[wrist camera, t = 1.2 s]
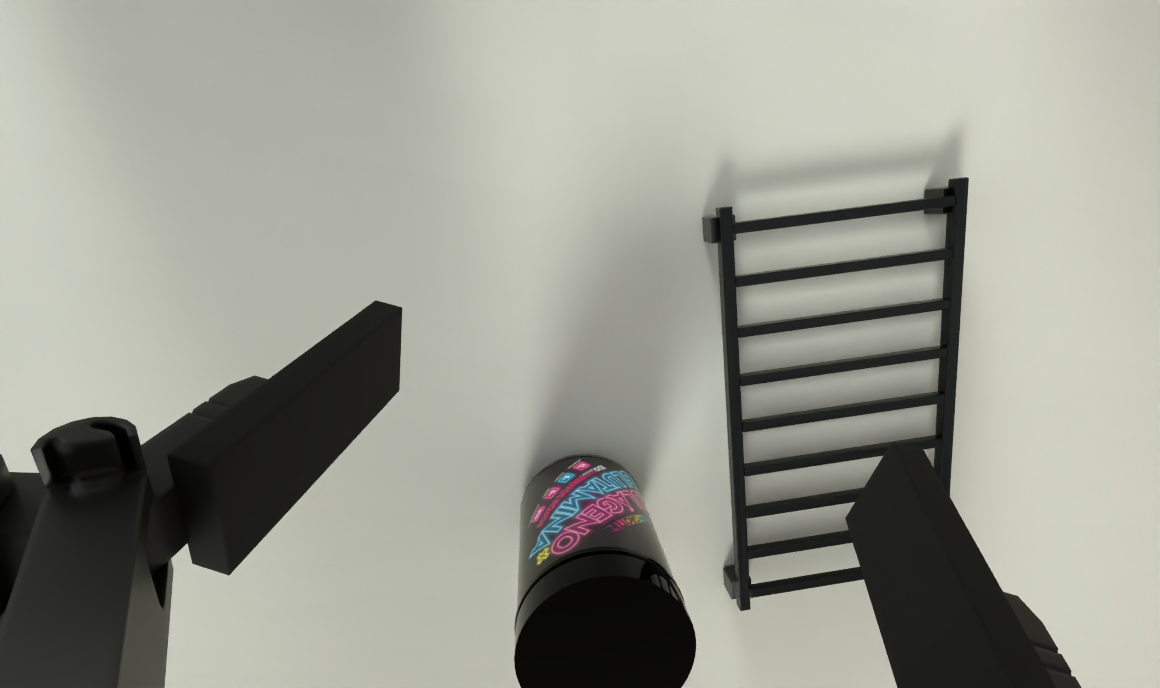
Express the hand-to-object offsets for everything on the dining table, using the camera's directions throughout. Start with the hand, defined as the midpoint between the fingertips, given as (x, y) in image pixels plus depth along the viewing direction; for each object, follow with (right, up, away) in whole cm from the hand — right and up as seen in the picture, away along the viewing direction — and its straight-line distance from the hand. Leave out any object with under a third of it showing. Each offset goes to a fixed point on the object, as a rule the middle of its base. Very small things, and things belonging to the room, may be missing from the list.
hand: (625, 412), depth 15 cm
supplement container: (-1, -7, +16) cm, 17 cm away
